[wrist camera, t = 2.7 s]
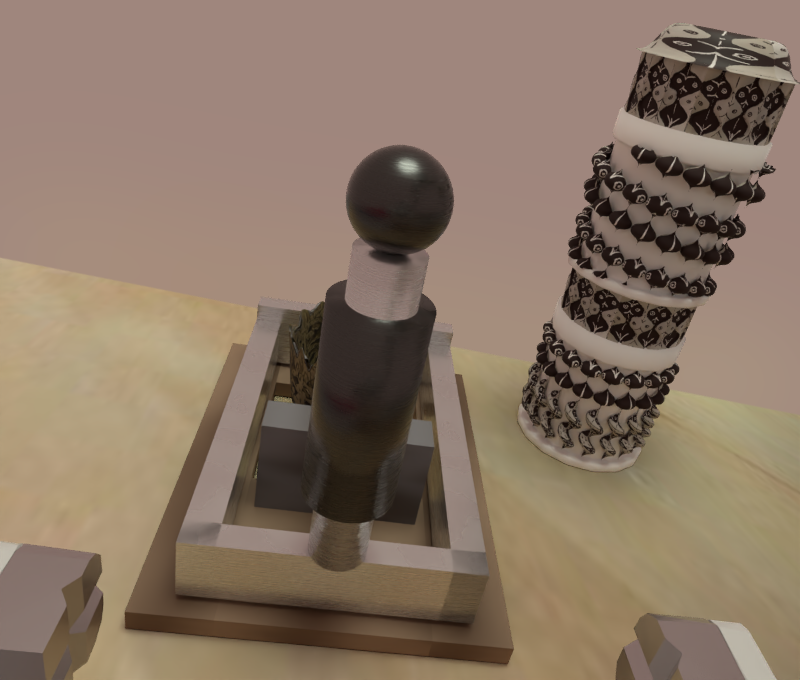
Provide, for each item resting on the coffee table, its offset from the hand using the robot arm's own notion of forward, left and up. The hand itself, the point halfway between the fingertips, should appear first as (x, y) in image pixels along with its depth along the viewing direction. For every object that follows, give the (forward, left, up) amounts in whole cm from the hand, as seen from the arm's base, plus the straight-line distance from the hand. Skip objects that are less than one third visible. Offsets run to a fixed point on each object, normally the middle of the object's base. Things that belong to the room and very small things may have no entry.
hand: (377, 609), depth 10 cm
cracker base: (0, -22, -16) cm, 27 cm away
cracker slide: (0, -21, -15) cm, 26 cm away
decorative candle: (-16, -29, -17) cm, 37 cm away
